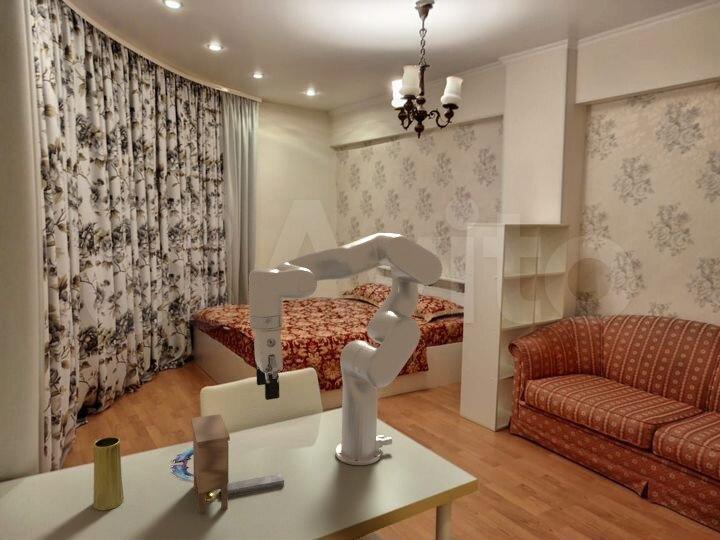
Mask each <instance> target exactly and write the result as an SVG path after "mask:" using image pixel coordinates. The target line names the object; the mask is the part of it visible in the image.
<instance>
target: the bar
mask: <svg viewBox="0 0 720 540" xmlns="http://www.w3.org/2000/svg"><path fill="white" fill-rule="evenodd" d="M282 487H285V479H284V477H283V475H282V473H277V474H273V475H267V476H261V477H256V478H250V479H244V480H240V481H233V482H229V483H228V497H234V496H238V495H239V496H240V495H244V494H251V493H256V492H261V491H266V490H267V491H268V490H270V489H271V490H272V489H278V488H282ZM219 492H220V493H221V489H219Z"/></svg>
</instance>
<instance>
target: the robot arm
mask: <svg viewBox="0 0 720 540" xmlns="http://www.w3.org/2000/svg"><path fill="white" fill-rule="evenodd" d="M381 266H382V267H383V266H386V267H390V273H391V279H392V281H391V289H390V291H389V293H388V295H387V296H386V298H385V299H384V301H383V302H382V304H381V305H380V306H379V307H378V309H377V310H376V312H375V313H374V315H373V316H372V317H371V319H370V320H369V322H368V324H367V327H366V332H367V335H368V337H369V338H370V339H371V340H372V341H374V342H375V343H377V344H378V345H379V346H377V345H375V344H372V343H370V342H368V341H364V340H361V339H360V340H358V339H356V340H351V341H349V342H348V343H347V344H346V345H345V346H344V347H343V349H342V351H341V354H340V358H339V359H340V361H339V362H340V369H341V370H340V371H341V376H342V377H341V379H342V405H341V406H342V407H341V409H342V410H341V412H342V413H341V442H340V443H339V444H338V445H337V446H336V448H335V456H336V458H337V459H338V460H339V461H340V462H342V463H345V464H348V465H352V466H368V465H371V464H374V463H376V462H377V461H379V460H380V459H381V457H382V449H381V448H383V446H389V445H392V444H393V439H392V437H384V435H383V434H382V435H377V432H378V431H377V429H378V428H377V427H378V425H377V424H378V401H379V397H378V396H379V394H378V393H379V391H378V388H385V387H387V386H389V385H390V384H391V383H392V382H393V381H394V380H395V379H396V378H397V377H398V375H399V374H400V372H401V371H402V369H403V368H404V367H405V365H406V363H408V361H409V359H410V357H411V356H412V354H413V353H414V352H415V350H416V348H417V346H418V344H419V342H420V339H421V329H420V325H419V323H418V322H417V321H416V320H415V319H414V318H413V317H412V315H413V314H414V313H415V311H416V309H417V307H418V304H419V302H420V297H419V296H420V295H419V287H418V286H419V285H423V286H428V285H429V286H430V285H432V284H435V283H437V282H438V281H439V279H440V278H441V276H442V274H443V264H442V261H441V259H440V258H439V257H438V256H437V255H436V254H435V253H433V252H432V251H430V250H428V249H426V248H425V247H423V246H422V245H420V244H419V243H417V242H415V241H414V240H412V239H410V238H408V237H407V236H405V235H403V234H397V233H389V232H388V233H386V232H378V233H373V234H372V235H368V236H365V237H363V238H360V239H357V240H355V241H354V240H353V241H352V242H350V243H346V244H343V245H340V246H338V247H334V248H328V249H325V250H321V251H318V252H313V253H309V254H305V255H302V256H298V257H295V258H292V259H290V260H287V261H285V262H282V263H280V264H279V265H277V266H276V267H275V268H269V267H267V268H257V269H252V270H251V271H250V272H249V274H248V297H249V298H248V301H249V303H248V304H249V329H250V330H251V331H254V332H253V335H254V338H253V340H254V341H253V343H254V344H253V345H254V347H253V348H254V360H255V364H256V372H255V373H256V385H257V386H262V385H264V397H265V400H267V401H269V400H276V399H279V398H280V376H279V371H280V372H281V371H282V370H283V368H284V364H283V347H282V344H283V343H282V336H281V329H282V328H283V325H284V324H283V299H288V300H289V299H290V300H302V299H303V300H304V299H306V298H309V297H310V296H312V295H314V293H315V292H316V289H317V287H318V281H319V282H320V281H327V280H331V281H332V280H334V281H336V280H337V281H340V280H348V279H351V278H354V277H356V276H359V275H361V274H363V273H365V272H366V273H367V272H369V271H371V270H373V269H376V268H379V267H381Z"/></svg>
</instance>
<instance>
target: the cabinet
mask: <svg viewBox="0 0 720 540" xmlns="http://www.w3.org/2000/svg"><path fill="white" fill-rule="evenodd" d="M190 423H191V426H192V441H193V442H192V443H193V444H192V446H193V447H192V448H193V455H192V457H193V458H192V460H193V461H192V462H193V474H194V477H193V481H194V483H193V490H194V491H198V492H197V493H198V497H197V498H198V515H199V516H201V515H205V514H206V503H205V492H209V491H214V490H216V491H218V490H219V491H220V489H221V492H220V498H221V499H220V500H221V501H220V503H221V505H220V506H221V507H220V508H221V511H226V510H228V508H229V507H228V506H229V502H228V501H229V500H228V483H230V482H229V480H230V479H229V442H230V441H231V439H230V438H231V437H230V434H229V432H228V429H227V426H226V423H225V421H224V418H223V416H222V414H221V413H220V414H212V415H206V416H199V417H191V418H190Z"/></svg>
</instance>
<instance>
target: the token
mask: <svg viewBox="0 0 720 540" xmlns="http://www.w3.org/2000/svg"><path fill="white" fill-rule="evenodd" d="M217 498H218V493H217V490H214V491H209V492H205V504H209V503H212V502H214V501H216V500H217Z"/></svg>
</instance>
